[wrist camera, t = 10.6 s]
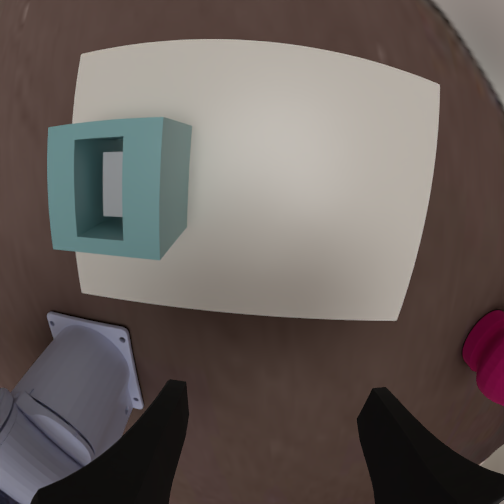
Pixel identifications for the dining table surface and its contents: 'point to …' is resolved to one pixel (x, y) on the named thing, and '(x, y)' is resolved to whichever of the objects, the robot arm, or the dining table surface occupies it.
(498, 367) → the pepper mill
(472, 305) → the dining table surface
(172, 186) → the teal square tube
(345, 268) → the key plate
